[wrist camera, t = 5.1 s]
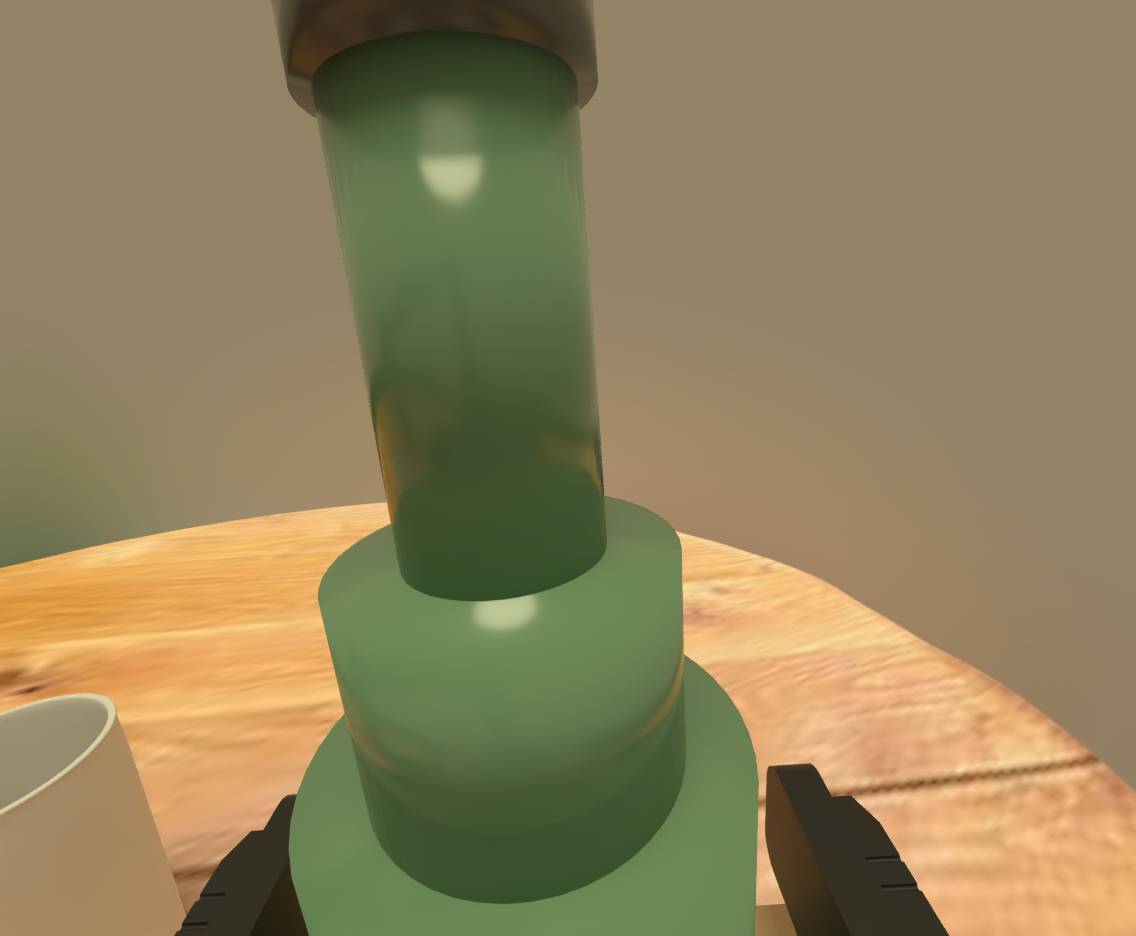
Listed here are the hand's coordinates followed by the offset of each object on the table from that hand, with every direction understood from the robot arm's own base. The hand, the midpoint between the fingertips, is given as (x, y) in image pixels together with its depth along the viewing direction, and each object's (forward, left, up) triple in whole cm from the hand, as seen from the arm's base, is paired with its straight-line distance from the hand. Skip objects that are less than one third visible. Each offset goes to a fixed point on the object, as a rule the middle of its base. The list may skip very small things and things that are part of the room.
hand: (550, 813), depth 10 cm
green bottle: (+1, -1, -15) cm, 15 cm away
